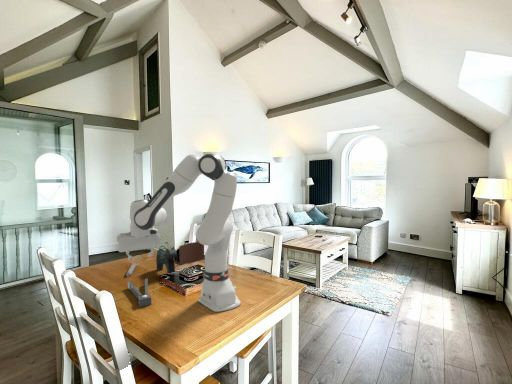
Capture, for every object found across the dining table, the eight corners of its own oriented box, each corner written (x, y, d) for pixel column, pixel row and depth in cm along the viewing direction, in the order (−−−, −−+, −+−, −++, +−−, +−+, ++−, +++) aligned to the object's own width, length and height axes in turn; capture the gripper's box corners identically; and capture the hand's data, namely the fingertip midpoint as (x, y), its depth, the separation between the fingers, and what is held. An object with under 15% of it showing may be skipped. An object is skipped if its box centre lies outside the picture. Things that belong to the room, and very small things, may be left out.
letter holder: (204, 259, 197) (204, 240, 196) (179, 265, 184) (179, 245, 183) (198, 256, 204) (197, 238, 204) (173, 261, 191) (173, 242, 191)
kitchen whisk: (121, 278, 158) (121, 268, 158) (133, 262, 191) (133, 254, 191) (132, 277, 160) (132, 267, 160) (142, 261, 193) (142, 253, 192)
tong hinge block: (151, 304, 124) (151, 296, 124) (139, 307, 122) (139, 299, 122) (149, 300, 128) (149, 293, 128) (138, 303, 126) (138, 295, 125)
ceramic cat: (177, 275, 164) (177, 243, 163) (168, 277, 159) (167, 245, 158) (162, 267, 177) (162, 238, 177) (153, 270, 173) (152, 240, 172)
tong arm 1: (142, 300, 127) (142, 294, 127) (139, 301, 126) (139, 295, 126) (130, 286, 144) (130, 281, 144) (127, 287, 143) (127, 282, 143)
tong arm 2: (148, 299, 128) (148, 293, 128) (145, 300, 128) (145, 294, 128) (147, 283, 149) (147, 278, 149) (144, 284, 148) (144, 278, 148)
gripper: (117, 234, 126) (117, 263, 126) (161, 230, 136) (162, 256, 137) (116, 232, 131) (117, 259, 131) (159, 228, 142) (159, 253, 142)
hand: (140, 258), depth 134 cm, fingers open, 8 cm apart
